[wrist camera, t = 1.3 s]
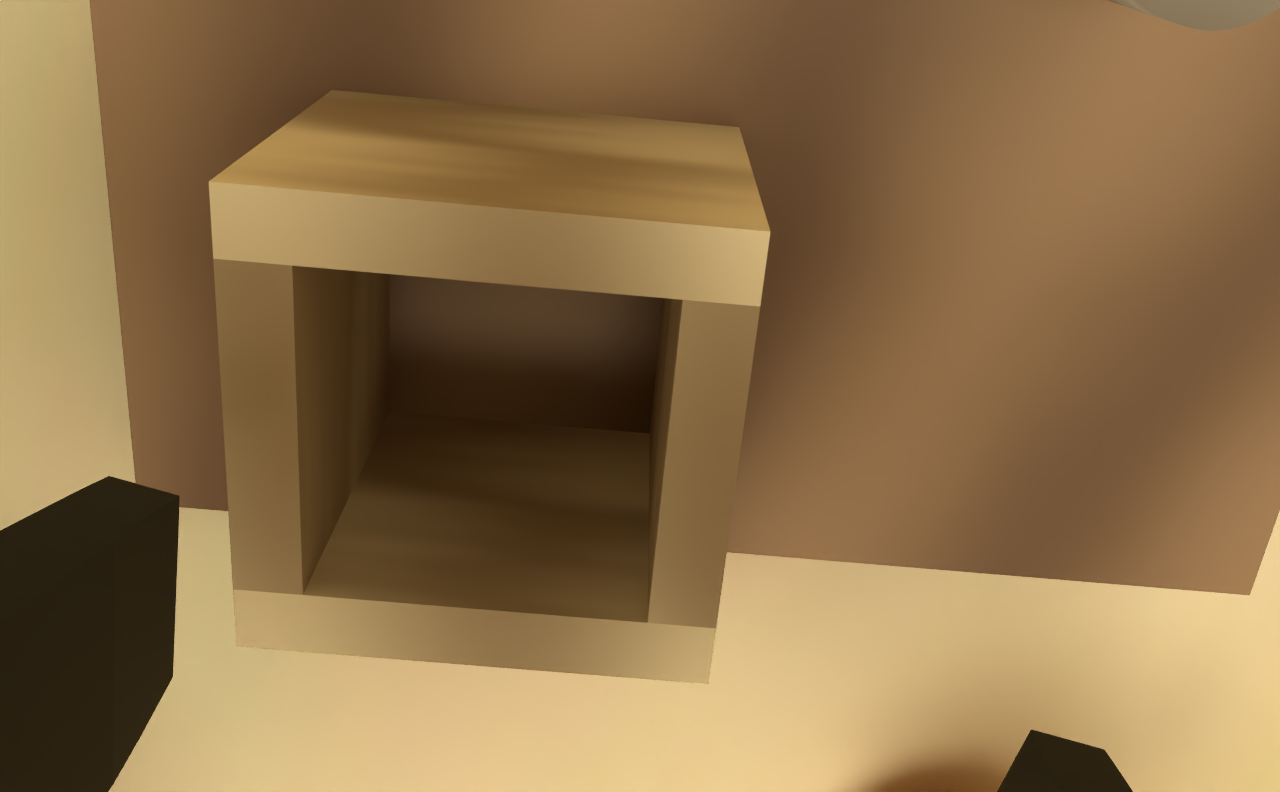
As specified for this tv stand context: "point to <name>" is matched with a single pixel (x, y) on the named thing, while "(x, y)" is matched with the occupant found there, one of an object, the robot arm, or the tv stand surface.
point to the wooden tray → (807, 256)
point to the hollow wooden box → (476, 448)
